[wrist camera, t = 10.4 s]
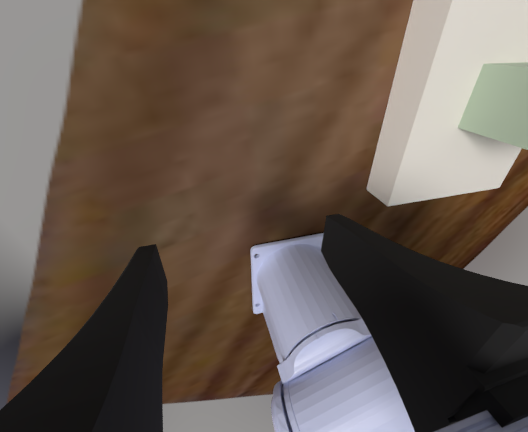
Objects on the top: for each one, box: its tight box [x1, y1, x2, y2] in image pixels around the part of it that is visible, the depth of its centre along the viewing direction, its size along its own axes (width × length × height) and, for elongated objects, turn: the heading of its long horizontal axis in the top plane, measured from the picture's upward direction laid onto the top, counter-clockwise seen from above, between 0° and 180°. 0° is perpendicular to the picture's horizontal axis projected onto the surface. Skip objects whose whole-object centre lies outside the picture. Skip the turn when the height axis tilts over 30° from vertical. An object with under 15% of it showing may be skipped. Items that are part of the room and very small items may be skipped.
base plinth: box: [366, 0, 528, 206], centre depth 19 cm, size 16×12×3 cm
